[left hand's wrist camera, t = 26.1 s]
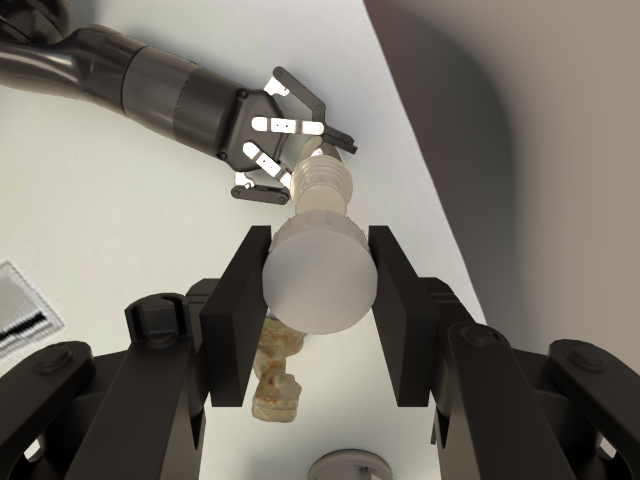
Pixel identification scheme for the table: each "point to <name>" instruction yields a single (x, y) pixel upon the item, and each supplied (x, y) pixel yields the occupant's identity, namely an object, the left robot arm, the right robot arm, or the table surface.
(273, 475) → the table surface
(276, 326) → the sculpture
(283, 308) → the cap
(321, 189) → the bottle
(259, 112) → the right robot arm
